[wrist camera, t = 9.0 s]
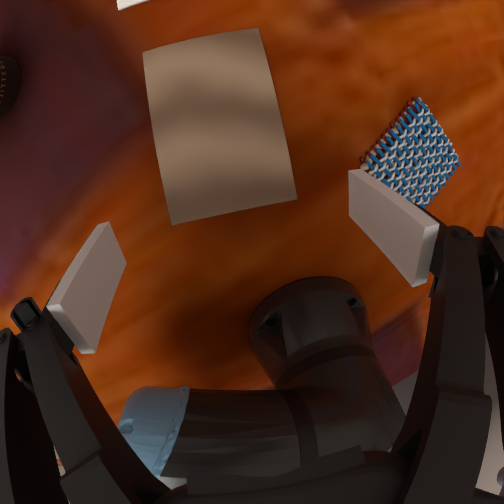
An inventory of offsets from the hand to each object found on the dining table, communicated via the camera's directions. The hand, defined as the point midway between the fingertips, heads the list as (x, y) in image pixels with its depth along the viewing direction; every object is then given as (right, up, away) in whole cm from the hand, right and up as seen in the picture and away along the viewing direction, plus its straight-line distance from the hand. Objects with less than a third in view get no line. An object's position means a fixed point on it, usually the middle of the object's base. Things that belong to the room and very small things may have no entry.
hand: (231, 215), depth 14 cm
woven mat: (+18, +8, +11) cm, 22 cm away
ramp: (-2, +9, +6) cm, 11 cm away
